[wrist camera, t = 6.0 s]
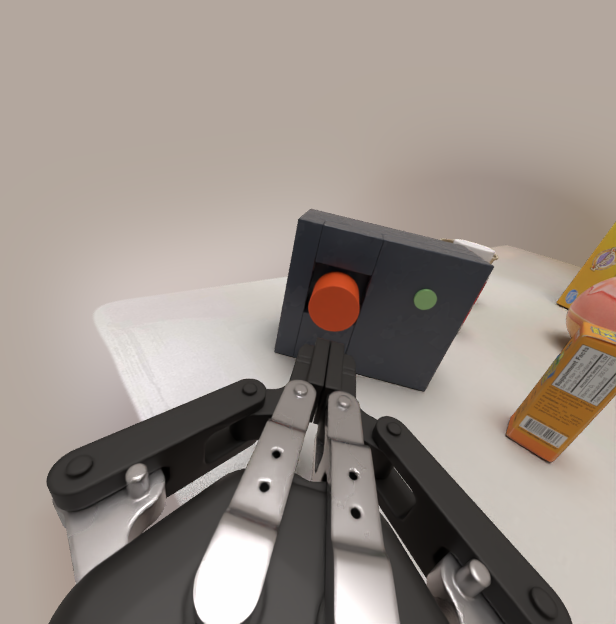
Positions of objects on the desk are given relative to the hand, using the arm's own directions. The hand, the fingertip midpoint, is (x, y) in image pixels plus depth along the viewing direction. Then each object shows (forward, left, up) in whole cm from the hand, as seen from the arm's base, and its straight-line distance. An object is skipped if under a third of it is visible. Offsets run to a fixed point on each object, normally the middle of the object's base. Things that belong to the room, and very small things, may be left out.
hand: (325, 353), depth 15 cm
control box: (+6, +10, -7) cm, 13 cm away
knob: (+2, +7, -2) cm, 7 cm away
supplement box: (+19, +1, -7) cm, 20 cm away
